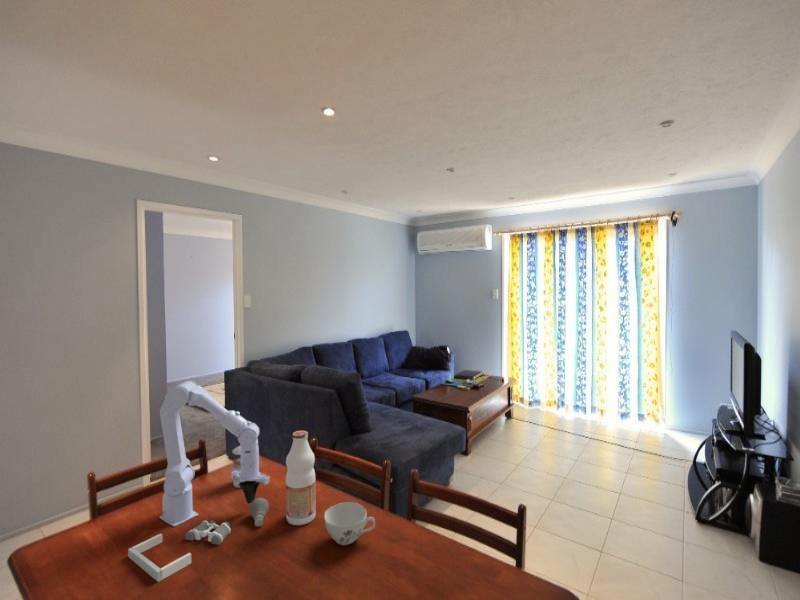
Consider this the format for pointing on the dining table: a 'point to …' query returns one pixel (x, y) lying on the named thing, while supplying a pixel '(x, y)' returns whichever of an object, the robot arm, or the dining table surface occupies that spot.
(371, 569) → the dining table surface
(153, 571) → the u-shaped open frame
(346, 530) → the teacup
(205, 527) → the binoculars
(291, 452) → the fruit juice
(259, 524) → the light bulb
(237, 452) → the french press
